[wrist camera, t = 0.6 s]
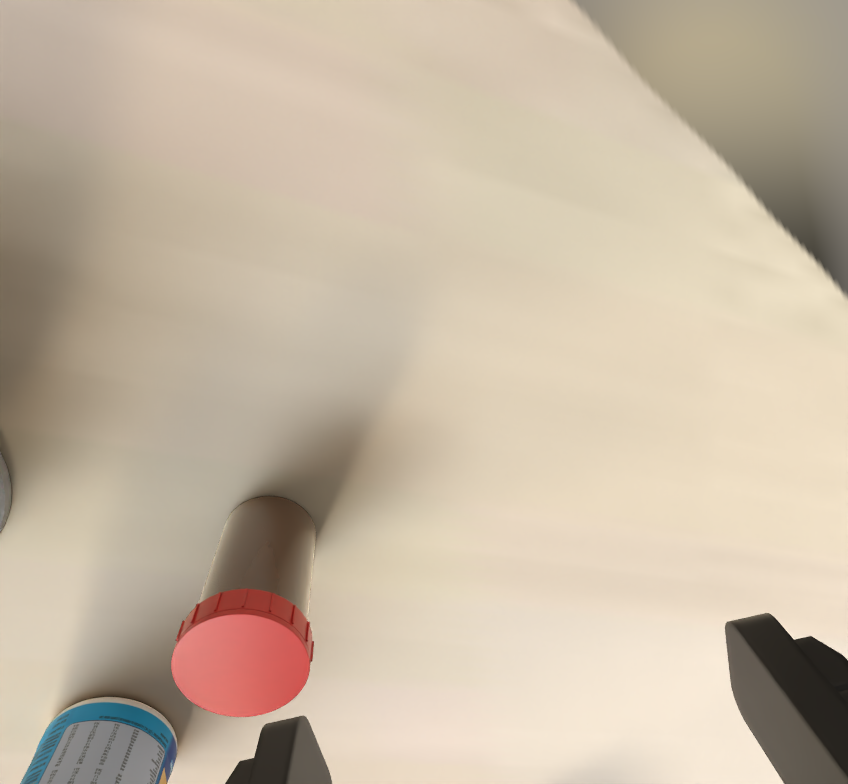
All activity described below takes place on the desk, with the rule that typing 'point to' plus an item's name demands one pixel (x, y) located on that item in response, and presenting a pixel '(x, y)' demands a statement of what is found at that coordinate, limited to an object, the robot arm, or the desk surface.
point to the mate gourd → (4, 492)
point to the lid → (242, 653)
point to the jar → (265, 551)
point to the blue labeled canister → (105, 745)
